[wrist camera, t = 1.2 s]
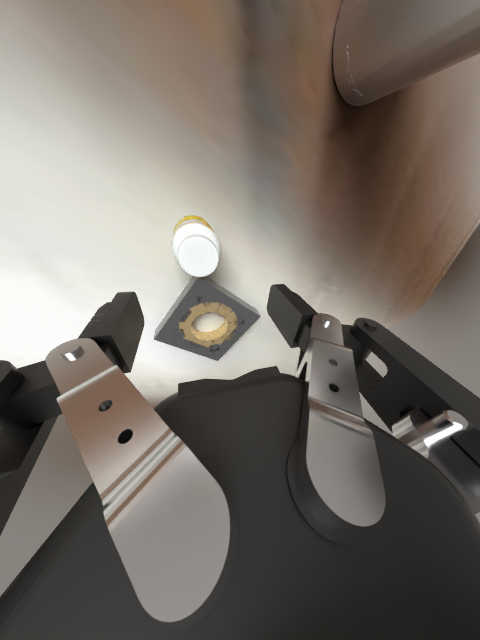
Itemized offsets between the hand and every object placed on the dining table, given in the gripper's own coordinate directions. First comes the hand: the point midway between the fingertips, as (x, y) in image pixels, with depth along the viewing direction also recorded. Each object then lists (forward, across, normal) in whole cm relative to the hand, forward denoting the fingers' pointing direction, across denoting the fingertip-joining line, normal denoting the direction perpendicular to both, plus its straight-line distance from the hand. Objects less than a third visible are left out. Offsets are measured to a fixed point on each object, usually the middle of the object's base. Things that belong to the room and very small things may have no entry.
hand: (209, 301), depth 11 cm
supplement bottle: (+18, 0, 0) cm, 18 cm away
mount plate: (+18, -1, +15) cm, 23 cm away
